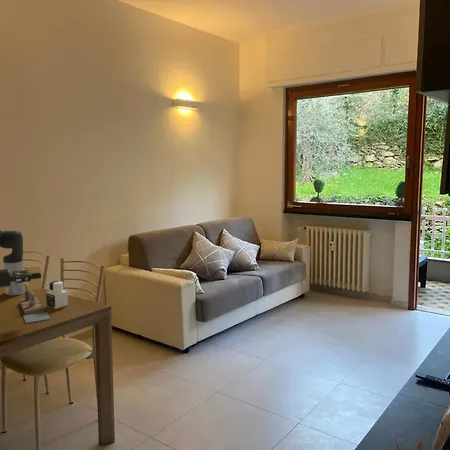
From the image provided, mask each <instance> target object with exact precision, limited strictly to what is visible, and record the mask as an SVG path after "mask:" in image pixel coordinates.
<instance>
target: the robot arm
mask: <svg viewBox="0 0 450 450" xmlns="http://www.w3.org/2000/svg"><path fill="white" fill-rule="evenodd" d="M0 248H2V249H11V253H10V254H7V255H4V256H3V257H2V259H3V261H2V262H3V269H0V288H5V295H6V296H19V295H23V294H25V291H26V288H25V283H27V281H31V280H32V279H38V278H42V273H41V272H40V273H35V274H27V272H26V269H24V261H23V258H24V257H23V256H24V237H23V234H22V232H21V231H20V230H2V229H0ZM27 277H28V278H27Z"/></svg>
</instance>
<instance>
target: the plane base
mask: <svg viewBox="0 0 450 450" xmlns="http://www.w3.org/2000/svg"><path fill="white" fill-rule="evenodd" d="M24 296H25V297H24V298H20V299H19V305H20V306H21V309H22V311H23V314H24V316H26V315H32V314H38V313H44V312H45V311H44V307H43V305H42V303H41V301H40V300H39V298H38V297H37V296H35V292H33V290H29V289H28V290H25V293H24Z"/></svg>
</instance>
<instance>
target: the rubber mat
mask: <svg viewBox="0 0 450 450" xmlns="http://www.w3.org/2000/svg"><path fill="white" fill-rule="evenodd" d="M22 317H23V320H24V322H25V324H32V323H40V322H46V321H51V317H50V315H49V314H48V311H44V312H42V313H36V314H30V315H23V316H22Z"/></svg>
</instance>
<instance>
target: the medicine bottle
mask: <svg viewBox="0 0 450 450" xmlns="http://www.w3.org/2000/svg"><path fill="white" fill-rule="evenodd" d="M48 285H49V291H46V292H45V297H46V307H48V308H52V309H53V310H57V309H59V308H65V307H67V306H69V301H68V300H69V299H68V296H69V295H68V291H67V290H64V282H63V281H61V280H53V281H51V282H50V283H48Z"/></svg>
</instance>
